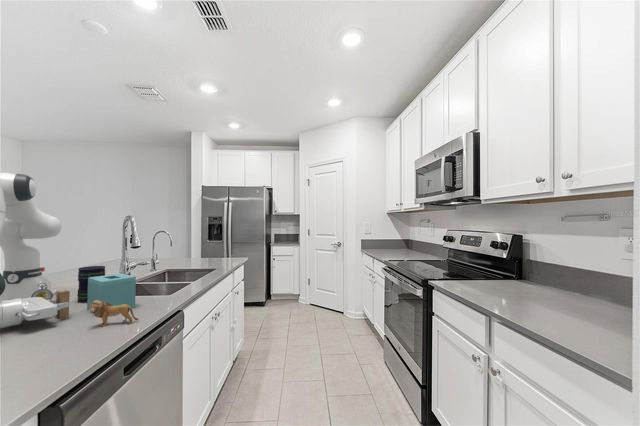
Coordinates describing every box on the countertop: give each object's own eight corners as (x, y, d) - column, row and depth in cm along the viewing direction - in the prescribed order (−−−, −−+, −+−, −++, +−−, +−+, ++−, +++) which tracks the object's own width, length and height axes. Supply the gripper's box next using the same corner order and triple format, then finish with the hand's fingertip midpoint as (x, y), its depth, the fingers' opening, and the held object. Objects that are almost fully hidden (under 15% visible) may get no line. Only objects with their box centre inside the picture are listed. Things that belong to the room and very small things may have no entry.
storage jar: (72, 301, 127) (73, 268, 127) (95, 296, 136) (96, 265, 136) (86, 304, 123) (87, 270, 124) (109, 298, 132) (110, 266, 133)
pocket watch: (38, 311, 113) (39, 286, 113) (22, 310, 115) (23, 285, 115) (60, 305, 121) (61, 282, 121) (45, 304, 123) (46, 281, 123)
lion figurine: (86, 330, 95) (86, 303, 95) (90, 324, 99) (91, 299, 100) (137, 323, 101) (138, 298, 101) (139, 318, 106) (140, 294, 106)
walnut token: (55, 317, 106) (56, 290, 107) (64, 315, 108) (65, 289, 109) (60, 320, 104) (60, 292, 104) (68, 318, 106) (69, 291, 106)
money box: (87, 309, 116) (88, 277, 117) (120, 302, 126) (120, 273, 127) (101, 315, 109) (102, 281, 109) (135, 307, 119) (135, 276, 119)
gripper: (20, 308, 90) (75, 298, 101) (6, 298, 101) (57, 290, 112) (20, 328, 90) (75, 316, 101) (5, 316, 101) (56, 306, 112)
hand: (65, 302), depth 107 cm, fingers closed on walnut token, 5 cm apart
